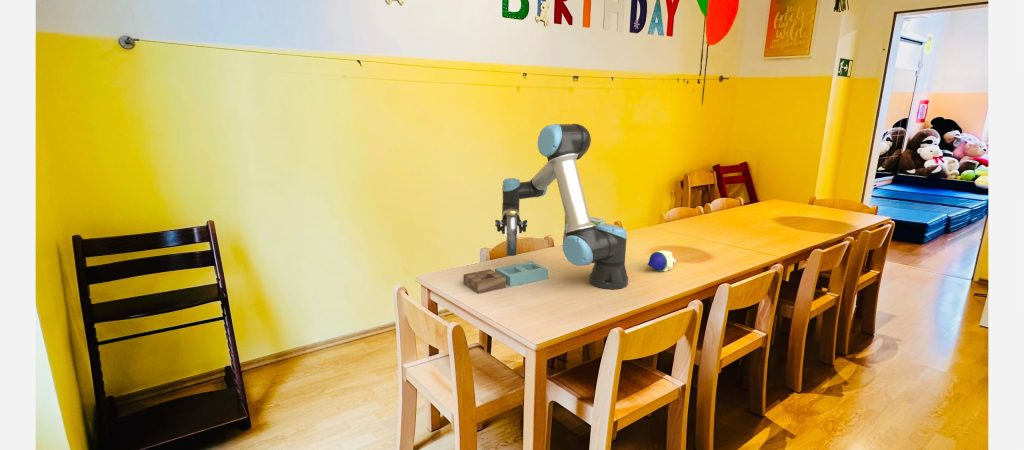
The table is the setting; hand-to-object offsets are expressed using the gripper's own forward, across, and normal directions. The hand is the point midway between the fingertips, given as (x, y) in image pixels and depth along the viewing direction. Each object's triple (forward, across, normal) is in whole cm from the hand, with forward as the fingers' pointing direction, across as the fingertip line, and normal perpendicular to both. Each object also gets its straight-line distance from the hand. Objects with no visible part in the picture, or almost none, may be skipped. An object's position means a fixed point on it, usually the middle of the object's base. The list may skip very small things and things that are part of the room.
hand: (512, 233), depth 190 cm
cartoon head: (-18, -64, -21) cm, 70 cm away
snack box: (-54, -37, -21) cm, 69 cm away
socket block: (+2, +10, -21) cm, 23 cm away
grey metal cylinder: (-5, 0, -10) cm, 11 cm away
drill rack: (-7, -4, -21) cm, 22 cm away
